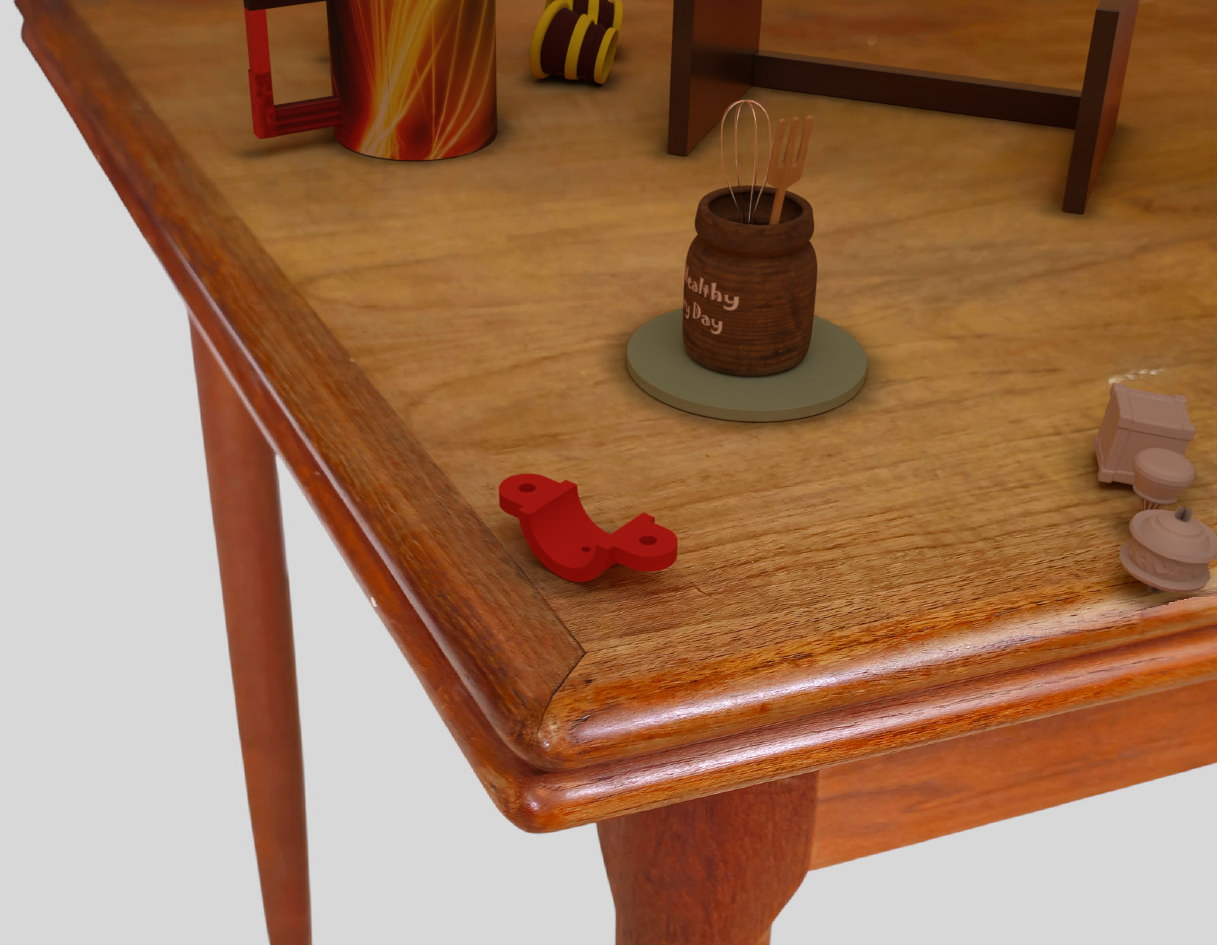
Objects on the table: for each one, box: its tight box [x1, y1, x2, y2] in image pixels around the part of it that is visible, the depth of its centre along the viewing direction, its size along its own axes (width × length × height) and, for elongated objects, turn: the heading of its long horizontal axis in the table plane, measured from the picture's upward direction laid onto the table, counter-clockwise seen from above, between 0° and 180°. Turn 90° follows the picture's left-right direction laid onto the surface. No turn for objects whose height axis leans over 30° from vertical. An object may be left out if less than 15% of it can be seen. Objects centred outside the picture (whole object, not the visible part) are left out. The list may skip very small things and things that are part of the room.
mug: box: [243, 0, 498, 161], centre depth 103 cm, size 10×14×12 cm
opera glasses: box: [528, 0, 624, 85], centre depth 117 cm, size 10×5×5 cm, turn 176°
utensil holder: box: [682, 99, 818, 376], centre depth 79 cm, size 6×6×12 cm
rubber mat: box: [625, 307, 868, 423], centre depth 83 cm, size 11×11×1 cm
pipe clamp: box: [498, 472, 679, 583], centre depth 68 cm, size 8×3×2 cm, turn 51°
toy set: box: [1091, 382, 1217, 595], centre depth 71 cm, size 12×3×4 cm, turn 173°
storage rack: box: [666, 0, 1140, 215], centre depth 105 cm, size 15×24×11 cm, turn 70°
